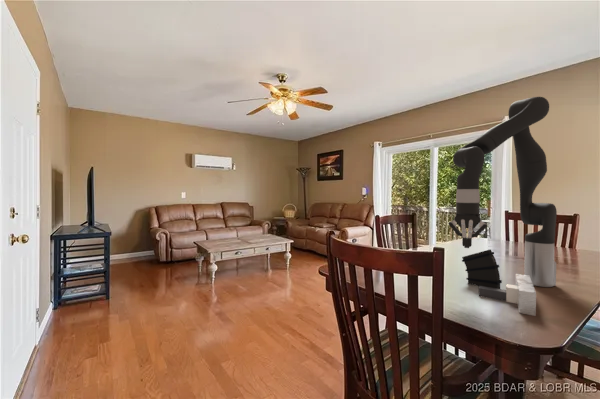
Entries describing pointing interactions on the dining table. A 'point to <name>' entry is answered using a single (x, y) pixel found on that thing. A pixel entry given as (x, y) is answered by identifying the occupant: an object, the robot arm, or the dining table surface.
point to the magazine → (482, 269)
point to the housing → (526, 295)
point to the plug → (500, 293)
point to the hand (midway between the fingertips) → (467, 247)
